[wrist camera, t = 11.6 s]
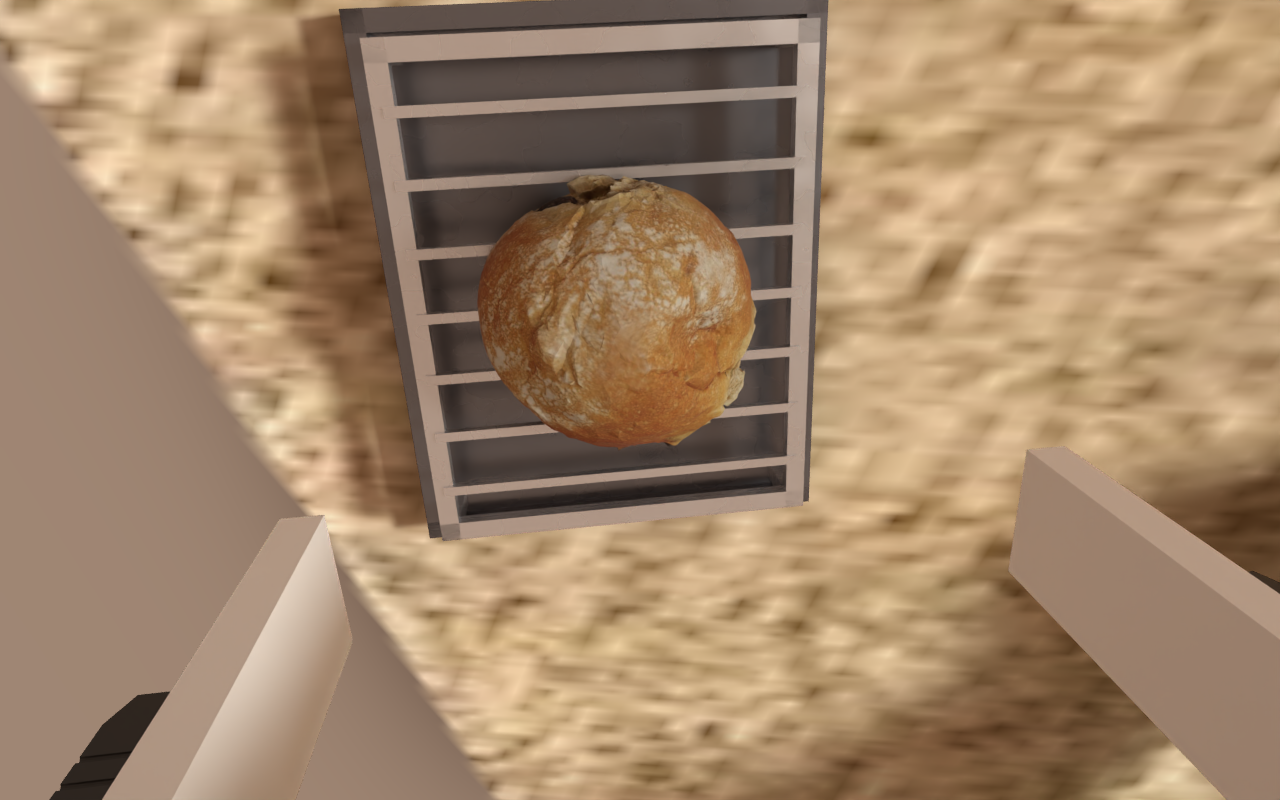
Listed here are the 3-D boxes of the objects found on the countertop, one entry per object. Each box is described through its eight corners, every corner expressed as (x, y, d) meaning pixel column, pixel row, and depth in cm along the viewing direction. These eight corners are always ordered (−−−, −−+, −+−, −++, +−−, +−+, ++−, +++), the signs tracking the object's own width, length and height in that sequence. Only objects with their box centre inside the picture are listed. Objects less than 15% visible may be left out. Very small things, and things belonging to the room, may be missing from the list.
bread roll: (680, 160, 32) (667, 79, 24) (800, 377, 32) (827, 367, 24) (475, 277, 33) (397, 236, 25) (588, 491, 32) (546, 518, 25)
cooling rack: (815, -6, 31) (850, -19, 27) (798, 485, 39) (824, 525, 35) (349, 13, 29) (321, 2, 26) (434, 520, 37) (422, 566, 34)
